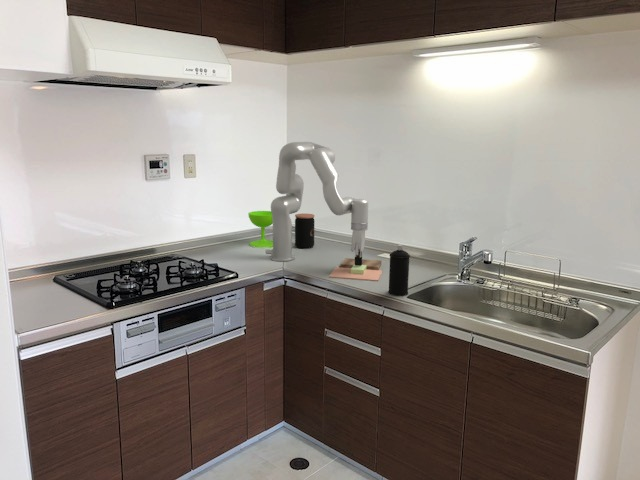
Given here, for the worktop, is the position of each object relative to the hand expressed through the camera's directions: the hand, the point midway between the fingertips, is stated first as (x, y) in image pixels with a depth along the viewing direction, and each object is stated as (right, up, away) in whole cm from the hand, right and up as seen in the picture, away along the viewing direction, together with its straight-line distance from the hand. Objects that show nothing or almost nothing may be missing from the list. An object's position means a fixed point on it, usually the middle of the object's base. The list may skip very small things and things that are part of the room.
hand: (358, 265), depth 242 cm
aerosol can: (+14, -10, -30) cm, 34 cm away
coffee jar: (-26, +8, +48) cm, 55 cm away
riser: (+2, -1, +9) cm, 10 cm away
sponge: (0, -2, -1) cm, 2 cm away
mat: (-1, -4, -4) cm, 6 cm away
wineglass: (-50, +9, +53) cm, 73 cm away
